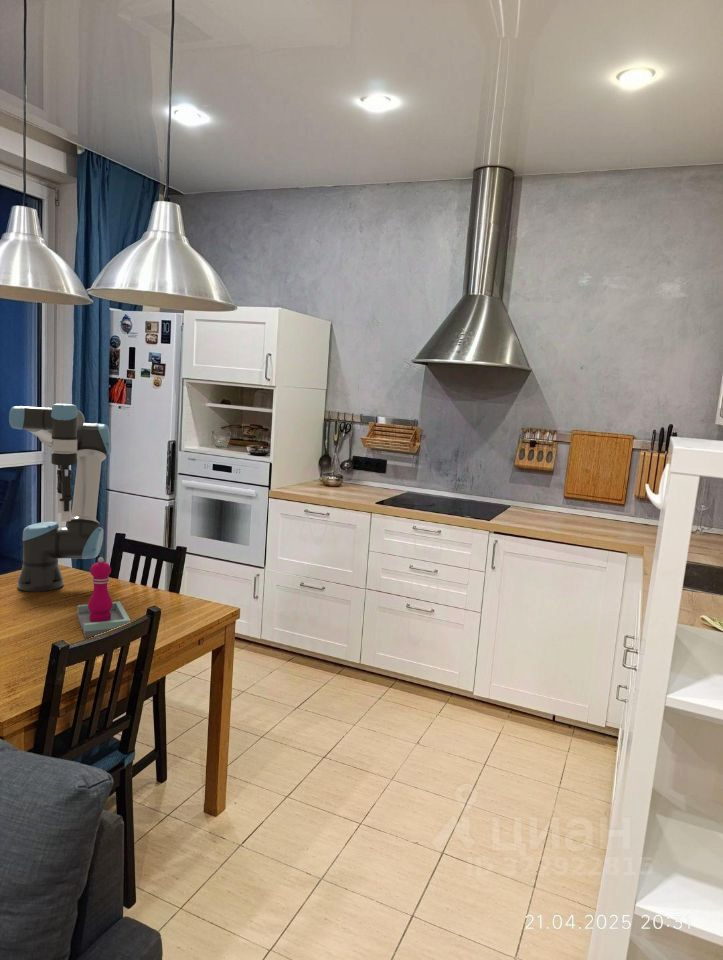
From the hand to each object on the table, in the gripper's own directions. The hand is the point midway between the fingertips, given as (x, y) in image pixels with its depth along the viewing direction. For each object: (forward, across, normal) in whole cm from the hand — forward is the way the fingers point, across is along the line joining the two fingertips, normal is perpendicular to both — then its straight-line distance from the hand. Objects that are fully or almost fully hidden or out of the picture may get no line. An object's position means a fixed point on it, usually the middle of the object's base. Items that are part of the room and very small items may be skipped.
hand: (63, 516), depth 215 cm
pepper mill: (+30, +17, +9) cm, 36 cm away
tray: (+32, +18, +10) cm, 38 cm away
